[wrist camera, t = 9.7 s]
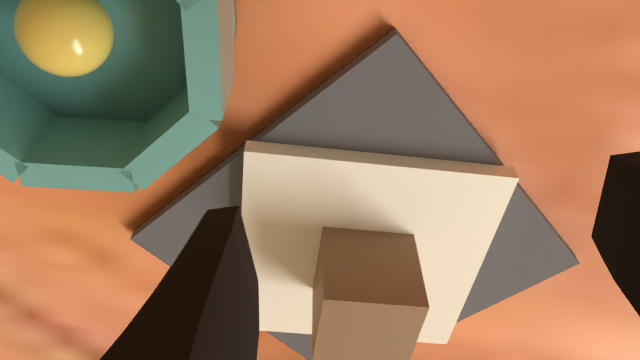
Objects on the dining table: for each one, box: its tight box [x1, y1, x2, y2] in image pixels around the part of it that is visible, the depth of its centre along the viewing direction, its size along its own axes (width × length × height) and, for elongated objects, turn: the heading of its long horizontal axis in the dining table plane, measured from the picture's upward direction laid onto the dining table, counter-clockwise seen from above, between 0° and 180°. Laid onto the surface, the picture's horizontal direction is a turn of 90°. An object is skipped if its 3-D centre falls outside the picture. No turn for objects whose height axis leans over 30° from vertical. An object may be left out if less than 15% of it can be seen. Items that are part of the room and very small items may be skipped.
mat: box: [130, 28, 579, 360], centre depth 25 cm, size 15×15×1 cm
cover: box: [241, 140, 519, 360], centre depth 23 cm, size 11×11×5 cm
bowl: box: [0, 0, 237, 192], centre depth 17 cm, size 10×10×4 cm
